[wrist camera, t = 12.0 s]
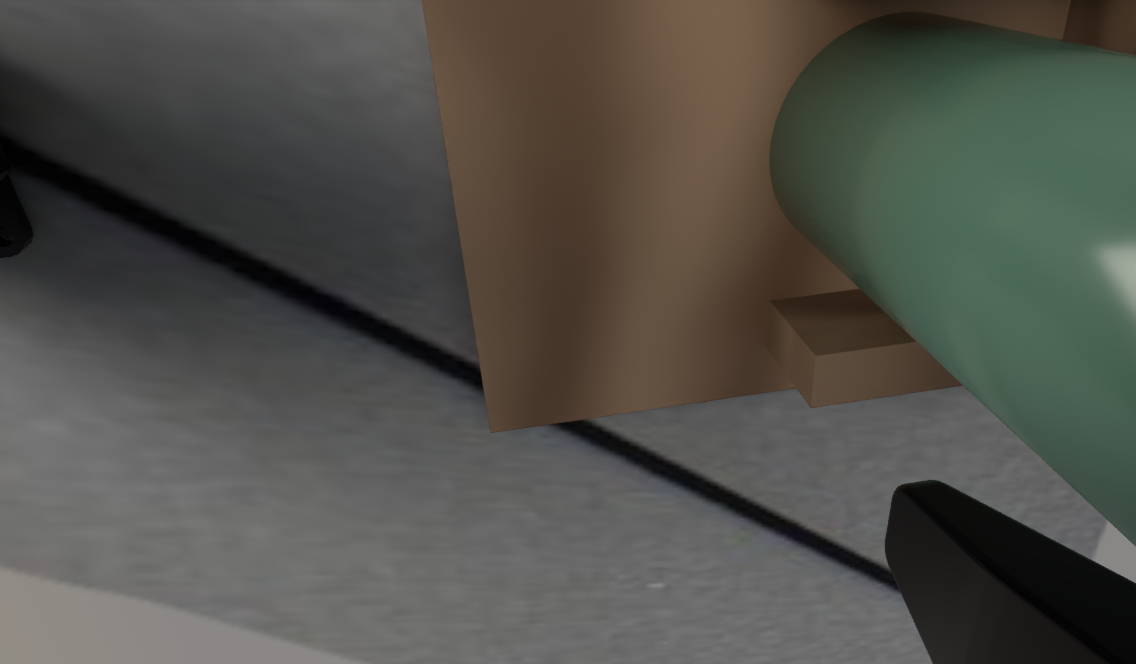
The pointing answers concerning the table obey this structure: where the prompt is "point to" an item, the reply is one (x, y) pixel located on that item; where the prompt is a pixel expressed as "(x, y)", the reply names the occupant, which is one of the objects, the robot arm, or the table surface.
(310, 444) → the table surface
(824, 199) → the oil bottle
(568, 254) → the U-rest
